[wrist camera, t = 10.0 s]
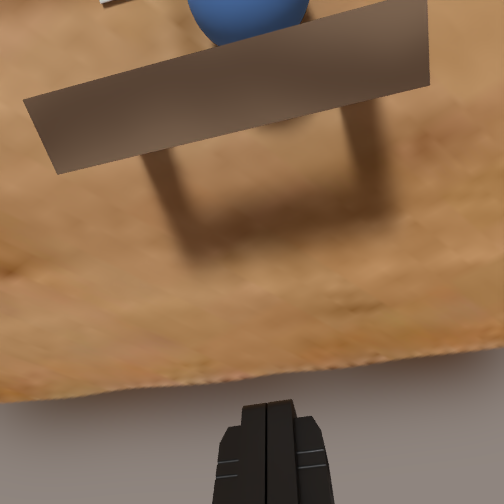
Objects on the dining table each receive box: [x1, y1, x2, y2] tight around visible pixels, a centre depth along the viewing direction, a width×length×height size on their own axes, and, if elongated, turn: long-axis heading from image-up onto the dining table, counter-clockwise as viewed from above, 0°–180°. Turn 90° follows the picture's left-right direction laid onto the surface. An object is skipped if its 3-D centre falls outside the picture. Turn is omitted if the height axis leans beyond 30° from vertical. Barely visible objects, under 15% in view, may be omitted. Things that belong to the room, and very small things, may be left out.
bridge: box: [23, 0, 430, 175], centre depth 19 cm, size 3×15×10 cm, turn 103°
